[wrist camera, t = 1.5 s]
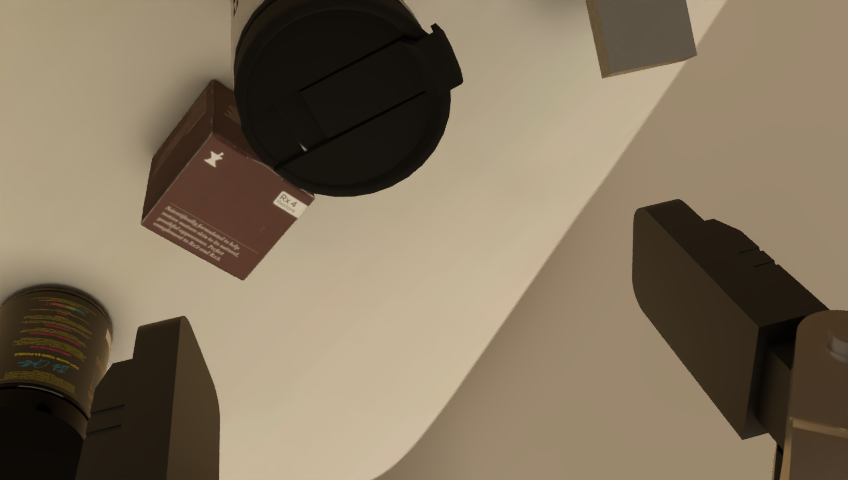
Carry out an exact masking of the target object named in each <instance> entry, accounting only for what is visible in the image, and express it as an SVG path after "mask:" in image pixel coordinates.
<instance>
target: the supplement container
mask: <svg viewBox="0 0 848 480" xmlns="http://www.w3.org/2000/svg"><path fill="white" fill-rule="evenodd" d="M112 340H113V332H112V328H111V325H110V322H109V320H108V318H107V316H106V315H105V313H104V312H103V311H102V309H101V308H100V307H99V306H98V305H97V304H95V303H94V302H93V301H91V300H90V299H89V298H87V297H85V296H83V295H81V294H79V293H76V292H73V291H70V290H65V289H60V288H40V289H33V290H29V291H26V292H23V293H21V294H18V295H16V296H15V297H13V298H11V299H10V300H8V301H7V302H6V303H4V304H3V305H2V306H1V307H0V480H75V478H76V473H77V469H78V464H79V460H80V455H81V451H82V446H83V441H84V438H86V434H85V432H86V428H87V423H88V419H89V418H90V417H91V415H90V410H91V405H92V401H93V396H94V391H95V388H96V386H97V385H98V384H99V382H100V381H101V379H102V378H103V377H104V375H105V374H106V370H107V365H108V360H109V355H110V350H111V346H112Z"/></svg>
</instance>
